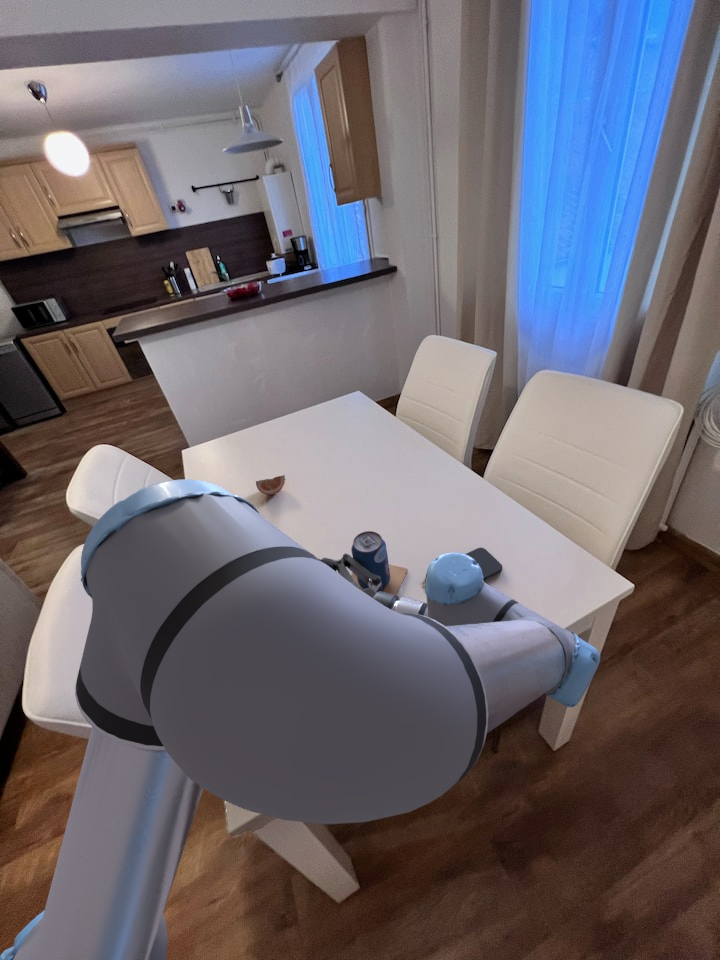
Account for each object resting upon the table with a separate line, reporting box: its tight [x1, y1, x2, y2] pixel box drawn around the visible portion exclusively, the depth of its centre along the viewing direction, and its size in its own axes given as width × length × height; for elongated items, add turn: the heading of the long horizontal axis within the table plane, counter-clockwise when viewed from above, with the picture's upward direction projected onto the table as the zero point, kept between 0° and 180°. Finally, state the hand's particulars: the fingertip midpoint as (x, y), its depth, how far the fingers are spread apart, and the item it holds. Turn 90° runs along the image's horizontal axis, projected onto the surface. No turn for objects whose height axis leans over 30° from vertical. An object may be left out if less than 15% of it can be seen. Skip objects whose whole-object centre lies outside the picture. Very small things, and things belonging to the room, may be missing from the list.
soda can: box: [351, 530, 390, 592], centre depth 82 cm, size 7×7×12 cm
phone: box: [425, 547, 503, 581], centre depth 84 cm, size 7×1×15 cm
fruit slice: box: [255, 474, 287, 496], centre depth 116 cm, size 8×7×5 cm
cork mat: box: [351, 563, 409, 596], centre depth 85 cm, size 11×11×1 cm
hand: (287, 587), depth 75 cm, fingers open, 13 cm apart
